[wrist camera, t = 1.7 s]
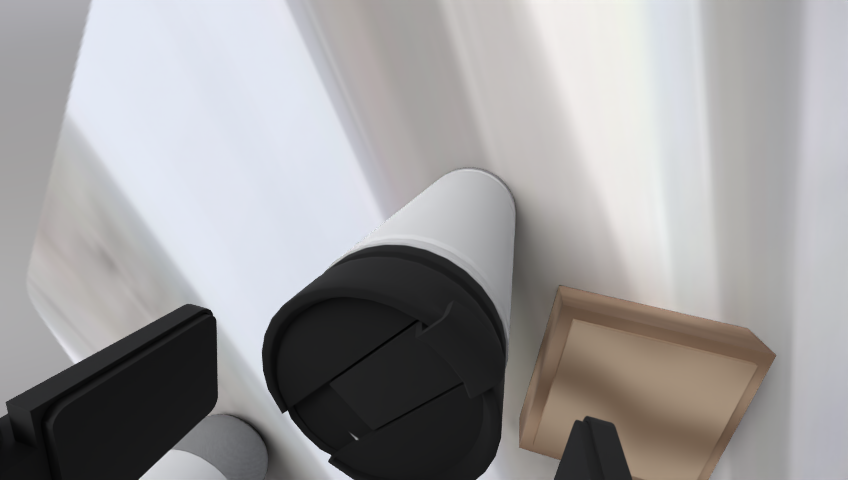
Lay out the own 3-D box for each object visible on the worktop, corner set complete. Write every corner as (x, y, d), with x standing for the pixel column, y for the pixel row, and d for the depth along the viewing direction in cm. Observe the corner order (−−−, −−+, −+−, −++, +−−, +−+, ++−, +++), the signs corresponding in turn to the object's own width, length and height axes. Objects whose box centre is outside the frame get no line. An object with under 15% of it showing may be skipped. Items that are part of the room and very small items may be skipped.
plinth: (559, 285, 27) (563, 306, 24) (748, 328, 25) (779, 358, 22) (519, 417, 31) (519, 450, 28) (679, 464, 29) (698, 505, 26)
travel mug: (539, 215, 26) (584, 462, 8) (464, 270, 29) (360, 558, 10) (479, 143, 26) (372, 220, 7) (409, 205, 28) (191, 382, 10)
